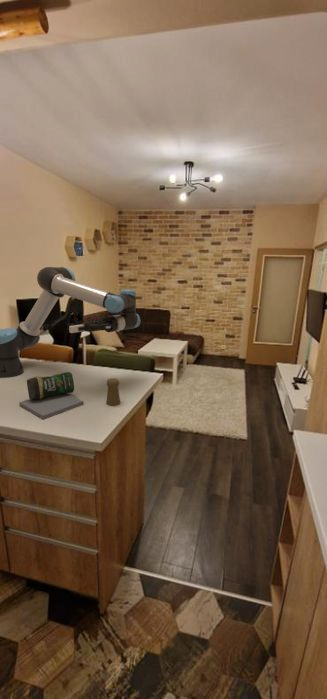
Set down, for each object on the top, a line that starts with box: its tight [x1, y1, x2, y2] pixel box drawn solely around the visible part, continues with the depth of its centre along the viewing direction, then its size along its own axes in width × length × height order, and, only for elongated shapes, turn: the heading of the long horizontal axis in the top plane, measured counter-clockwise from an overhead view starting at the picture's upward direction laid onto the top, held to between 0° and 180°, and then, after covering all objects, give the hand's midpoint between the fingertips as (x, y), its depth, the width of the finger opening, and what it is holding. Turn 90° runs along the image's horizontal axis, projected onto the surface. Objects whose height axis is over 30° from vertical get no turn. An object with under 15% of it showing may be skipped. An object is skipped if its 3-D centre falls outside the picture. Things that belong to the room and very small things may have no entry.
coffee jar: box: [26, 371, 75, 400], centre depth 133 cm, size 10×8×19 cm
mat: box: [18, 393, 85, 420], centre depth 128 cm, size 18×18×2 cm
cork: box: [105, 377, 121, 407], centre depth 131 cm, size 6×6×11 cm
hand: (70, 329), depth 129 cm, fingers closed
